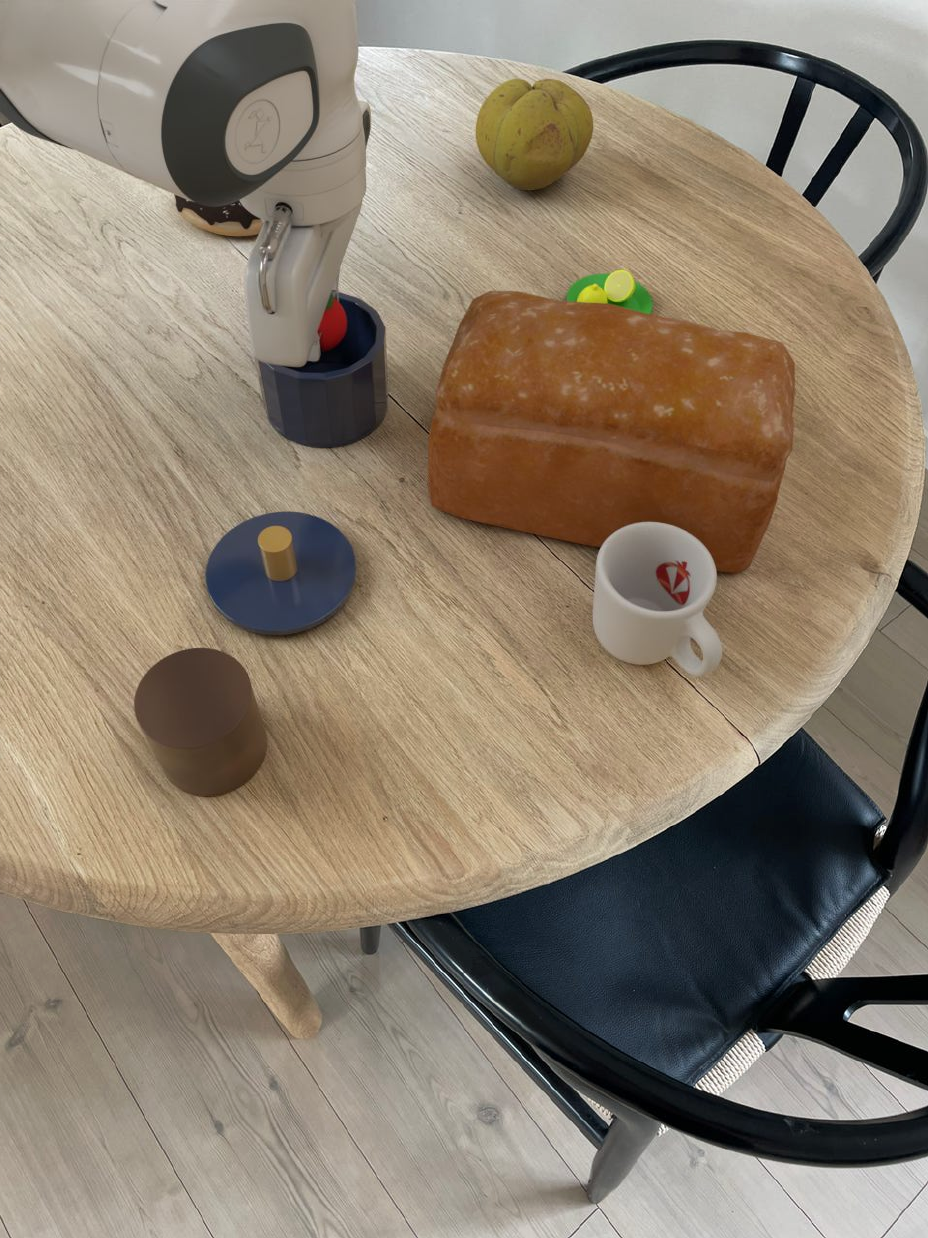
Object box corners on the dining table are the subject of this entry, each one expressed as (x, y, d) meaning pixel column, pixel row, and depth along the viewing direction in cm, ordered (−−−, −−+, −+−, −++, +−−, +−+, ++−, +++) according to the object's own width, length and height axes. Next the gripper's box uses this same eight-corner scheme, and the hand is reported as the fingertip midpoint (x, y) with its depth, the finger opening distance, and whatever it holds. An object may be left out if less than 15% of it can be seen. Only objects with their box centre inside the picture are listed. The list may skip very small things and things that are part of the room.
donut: (279, 249, 94) (273, 212, 91) (161, 234, 95) (151, 197, 92) (307, 184, 101) (302, 147, 97) (196, 171, 101) (188, 133, 98)
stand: (172, 811, 62) (146, 764, 56) (150, 720, 66) (123, 667, 60) (279, 776, 64) (264, 726, 58) (252, 689, 67) (235, 633, 61)
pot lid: (228, 658, 69) (216, 621, 65) (193, 543, 74) (180, 502, 70) (376, 614, 71) (373, 576, 67) (332, 505, 77) (326, 464, 73)
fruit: (577, 219, 99) (590, 123, 90) (463, 203, 100) (466, 105, 91) (591, 159, 105) (605, 63, 96) (483, 144, 106) (488, 48, 97)
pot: (284, 461, 79) (271, 391, 73) (251, 377, 84) (237, 306, 78) (405, 429, 81) (403, 360, 75) (366, 350, 87) (361, 279, 81)
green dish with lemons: (604, 268, 94) (608, 242, 92) (668, 307, 91) (674, 282, 89) (548, 304, 91) (551, 278, 89) (613, 346, 88) (618, 321, 86)
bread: (458, 400, 84) (463, 239, 71) (764, 459, 81) (828, 303, 68) (416, 520, 76) (413, 365, 63) (751, 590, 73) (821, 443, 60)
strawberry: (302, 368, 76) (295, 320, 72) (287, 333, 78) (279, 285, 74) (356, 356, 77) (352, 308, 73) (339, 321, 79) (335, 273, 75)
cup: (740, 674, 69) (773, 610, 62) (655, 729, 66) (680, 669, 60) (642, 571, 74) (663, 502, 67) (559, 619, 71) (572, 552, 65)
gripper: (308, 266, 59) (328, 430, 71) (375, 92, 70) (383, 257, 82) (207, 254, 59) (243, 419, 71) (290, 82, 71) (309, 248, 82)
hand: (318, 331), depth 77 cm, fingers closed on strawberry, 4 cm apart
